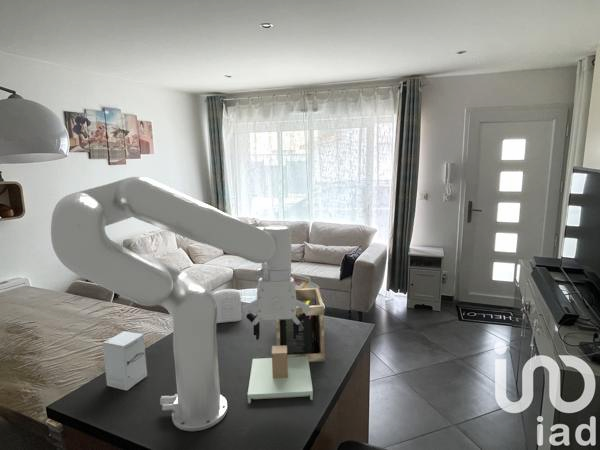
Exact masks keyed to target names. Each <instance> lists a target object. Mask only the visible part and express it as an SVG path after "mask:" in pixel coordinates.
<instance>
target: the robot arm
mask: <svg viewBox="0 0 600 450" xmlns="http://www.w3.org/2000/svg"><path fill="white" fill-rule="evenodd" d="M131 218H134V219H137V220H139V221H142V222H144V223H146V224H150V225H151V226H154V227H157V228H160V229H162V230H166V231H167V232H171V233H172V234H173V233H174V234H176V235H179V236H181V237H183V238H187V239H189V240H191V241H194V242H196V243H199V244H202V245H205V246H210V247H212V248H215V249H218V250H221V251H222V252H226V253H229V254H231V255H233V256H236V257H239V258H241V259H244V260H246V261H249V262H252V263H254V264H261V267H260V268H259V269H256V270H255V275H258V276H260V278H259V279H258V282H257V286H256V287H257V288H256V299H254V300H253V301H251V302H249V303H247V304H245V305H243V306H242V312H244V315H245V316H246V319H247V320H249V322H250V323H251V324H252V325H253V336H255V339H256V340H257V341H258V340H260V335H261V334H260V325H261V324H260V321H261V320H266V321H267V320H268V321H271V320H273V321H274V320H275V321H276V320H281V319H292V320H293V339H296V335H299V324H300V322H301V321H302V320H303V319H304V318H305V317H306V315H307V313H308V311H309V310H310V307H309V305H307V304H305V303H303V302H301V301H299V300H297V299H296V290H295V283H294V279H293V278H292V277H291V273H292V230H291V228H290V227H289V226H287V225H281V224H279V225H277V224H275V225H273V224H272V225H266V226H255V225H253V224H251V223H248V222H246V221H244V220H241V219H239V218H237V217H235V216H232V215H230V214H227V213H226V212H223V211H221V210H220V209H218V208H216V207H214V206H212V205H210V204H207V203H205V202H203V201H201V200H198V199H196V198H194V197H191V196H189V195H187V194H185V193H182V192H180V191H179V190H176V189H174V188H172V187H169V186H167V185H165V184H163V183H160V182H158V181H156V180H154V179H152V178H149V177H144V176H130V177H127V178H124V179H120V180H117V181H114V182H110V183H107V184H103V185H99V186H96V187H93V188H88V189H84V190H80V191H76V192H74V193H70V194H68V195H65V196H63V197H62V198H61V199H60V200H58V201H57V203H56V204H55V206H54V208H53V211H52V216H51V220H50V221H51V222H50V223H51V224H50V239H51V244H52V249H53V251H54V254H55V255H56V257H57V258H58V260H59V261H60V262H61V264H62V265H63V266H64V267H65V268H67V269H68V270H69V271H71V272H72V273H74V274H75V275H77V276H79V277H81V278H83V279H84V280H85V279H86V280H87V281H89V282H92V283H94V284H96V285H98V286H100V287H102V288H104V289H106V290H109V291H110V292H112V293H115V294H117V295H119V296H122V297H124V298H126V299H128V300H130V301H131V302H133V303H136V304H138V305H140V306H145V307H154V306H160V307H163V308H164V309H166V310H167V311H168V313H169V315H170V316H171V319H172V327H173V329H172V330H173V331H172V348H173V349H172V351H173V357H174V358H173V359H174V369H175V381H176V392H177V393H175V394H174V395H161V396H160V399H159V402H160V403H159V405H160V406H162V407H161V409H162V411H172V413H171V418H172V419H171V420H172V423H173V425H174V426H175V427H176V428H177V429H179V430H181V431H182V430H183V431H186V432H197V431H203V430H206V429H210V428H212V427H213V426H215V425H217V424H218V423H219V422H221V421H222V420H223V419H224V418H225V416H226V414H227V413H228V401H227V399H226V397H224V396H223V395H222V394H221V389H220V375H219V374H220V372H219V357H218V346H217V345H218V343H217V324H218V323H217V303H216V300H215V297H214V293H213V292H212V291H211V290H210V289H209V288H208V287H206V285H205V284H203V283H201V282H200V281H199V280H197V279H196V278H195V277H193V276H192V275H190V274H189V273H187V272H185V271H183V270H181V269H178V268H177V267H175V266H173V265H172V264H169V263H167V262H166V261H163V260H162V259H160V258H157V257H156V256H154V255H151V254H148V253H147V254H146V253H139V254H138V253H136V252H134V251H132V250H130V249H128V248H127V247H125V246H124V245H121V244H119V243H117V242H115V241H114V240H111V238H110V237H109V236H108V235H107V234H106V230H105V229H106V227H107V226H110V225H113V224H116V223H118V222H122V221H125V220H128V219H131ZM296 306H298V307H300V308H302V309H303V311H302V312H301V313H300V314H299V315H297V314H296ZM253 308H255V311H256V312H255V313H256V314H253V313H252V312H251V311H250V310H251V309H253Z"/></svg>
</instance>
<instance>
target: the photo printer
mask: <svg viewBox="0 0 600 450" xmlns="http://www.w3.org/2000/svg"><path fill="white" fill-rule="evenodd" d="M213 295H214V297H215V300H216V303H217V323H216V324H220V323H221V324H222V323H231V322H232V323H233V322H240V321H241V320H242V301H241V300H242V299H241V293H240V290H239V289H236V288H224V289H220V290H217V291H214V292H213Z"/></svg>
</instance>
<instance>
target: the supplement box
mask: <svg viewBox="0 0 600 450" xmlns="http://www.w3.org/2000/svg"><path fill="white" fill-rule="evenodd" d="M102 351H103V360H104V368H105V378H106V386H108V387H111V388H114V389H119V390H121V391H122V390H123V391H129V390H130V389H131V388H133V387H134V386H135V385H136V384H138V383H139V382H140V381H142V380H144V379H145V378H146V377H147V376H148V370H147V368H148V367H147V357H146V349H145V338H144V334H143V333H137V332H133V331H132V332H130V331H122V332H120V333H118V334H117V335H115V336H112V337H111V338H108V339H107V340H105V341H104V342H102Z"/></svg>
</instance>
